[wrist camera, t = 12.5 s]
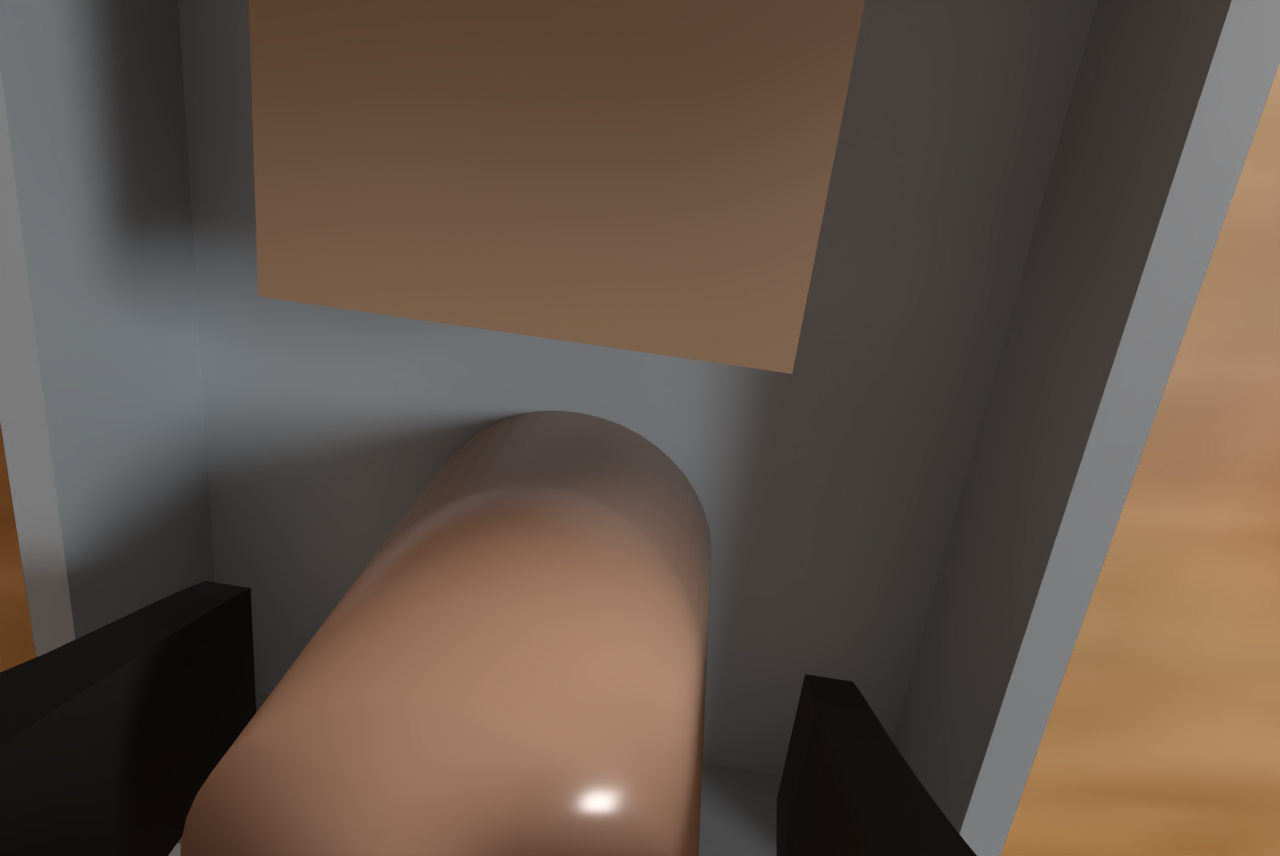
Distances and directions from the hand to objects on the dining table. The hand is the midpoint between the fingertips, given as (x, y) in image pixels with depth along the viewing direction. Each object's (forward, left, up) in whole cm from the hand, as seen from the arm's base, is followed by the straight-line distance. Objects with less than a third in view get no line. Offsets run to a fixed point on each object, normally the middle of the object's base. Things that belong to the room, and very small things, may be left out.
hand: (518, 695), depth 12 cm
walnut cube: (+8, 0, -3) cm, 8 cm away
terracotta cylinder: (0, 0, -3) cm, 4 cm away
